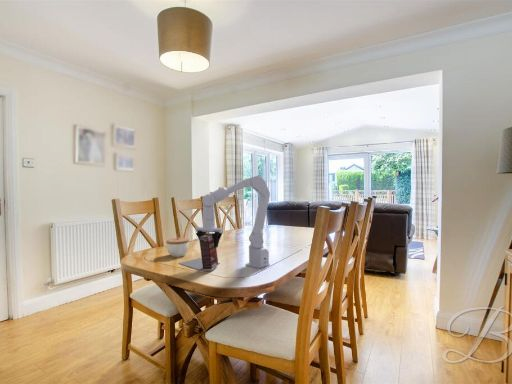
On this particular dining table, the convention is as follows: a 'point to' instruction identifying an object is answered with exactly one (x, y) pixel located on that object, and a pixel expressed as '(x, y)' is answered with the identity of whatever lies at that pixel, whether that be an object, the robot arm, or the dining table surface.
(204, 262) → the supplement box
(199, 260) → the felt mat
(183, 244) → the lidded bowl
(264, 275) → the dining table surface
